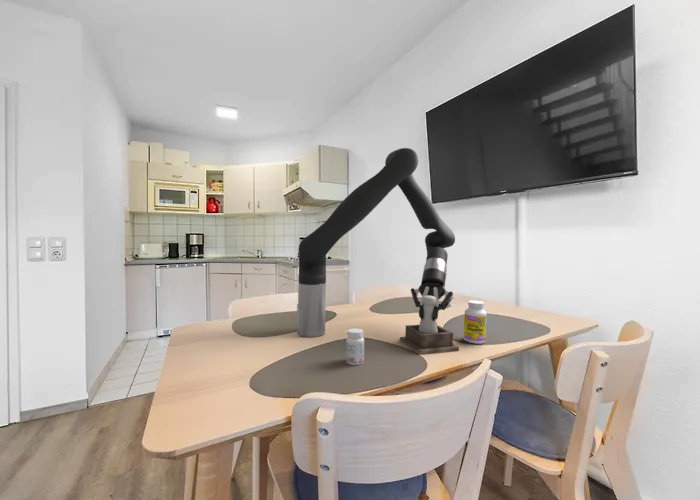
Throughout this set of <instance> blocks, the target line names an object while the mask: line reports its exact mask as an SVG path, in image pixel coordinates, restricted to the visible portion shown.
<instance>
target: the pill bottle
mask: <svg viewBox="0 0 700 500" xmlns="http://www.w3.org/2000/svg"><path fill="white" fill-rule="evenodd" d="M363 336H364V330H363V329H361V328H353V327H352V328H350V329H348V330H347V337H346V342H345V345H346V348H345V350H346V351H345V362H346V363H347V364H349V365H352V366H359V365H362V364H363V363H364V361H365V338H364V337H363Z"/></svg>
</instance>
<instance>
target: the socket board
mask: <svg viewBox="0 0 700 500" xmlns="http://www.w3.org/2000/svg"><path fill="white" fill-rule="evenodd" d="M419 325H420V324H409V325H408V324H406V325H405V330H404V331H405V334H404V336H399V341H400V342H402V343H403V344H405V346H407V347H409V348H410V349H411V350H413V351H414V352H415V353H416V354H418V355H428V354H438V353H447V352H448V353H449V352H458V351H459V350H460V347H459V346H458V345H455V344H454V343H453V340H454V332H452V331H450V330H448V329H446V328H444V327H443V326H440V325H438V324H437V329H438V333H432V334H422V333H420V332H419Z"/></svg>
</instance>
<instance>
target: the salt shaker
mask: <svg viewBox="0 0 700 500" xmlns="http://www.w3.org/2000/svg"><path fill="white" fill-rule="evenodd" d="M421 300H422V303H423V304H424V306H423V308H424V313H423V319H421V318H420V321H419V324H418V325H419V332H420V333H422V334H432V333H438V329H437V325H438V321H437V319H435V321H433V320H432V315H433V308H434V306H435V304H436V298H435V297H434V296H429V295H427V296H423V297H421Z"/></svg>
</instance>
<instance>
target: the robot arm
mask: <svg viewBox="0 0 700 500" xmlns="http://www.w3.org/2000/svg"><path fill="white" fill-rule="evenodd" d="M418 163H419V157H418V153H417V152H416V151H415V150H414V149H412V148H410V147H409V148H408V147H401V148H398V149H396V150H394V151H393V150H392V151H391V152H390V153H389V154H388V155H387V156H386V158H385V163H384V164H385V165H384V166H383V168H381V170H379V172H377V173H376V174H375V175H373V176H372V177H370V178H369V179H367V180H366V181H365V182H363V183H362V184H360V185H358V187H356V188H355V189H354V190H353V191H352V192H350V194H348V195H347V196H346V197H345V198H344V199H343V200H342V201H341V202H340V204H338V206H337V207H336V208H335V209H334V211H333V212H331V215H330V216H329V217H328V218H327V219H326V220H325V221H324V223H322V224H320V226H319V227H318V228H316V229H315V230H314V231H313V232H311V233H310V234H309V235H307V236H305V237H304V238H302V240H301V241H300V242H299V245H298V257H299V258H298V280H297V281H298V283H297V284H298V287H297V289H298V292H297V294H298V297H297V300H298V303H297V304H296V306H297V307H296V332H297V335H298V336H299V337H305V338H306V337H309V338H315V337H320V336H323V335H324V334H325V333H326V298H327V297H326V296H327V295H326V294H327V293H326V292H327V291H326V288H327V286H326V285H327V261H326V260H327V255H328V253H329V252H330V250H332V249H333V247H334V246H335V245H336V244H337V242H338V241H339V240H340V239H342V238H343V236H345V235H346V234H347V233H349V232H350V231H351V230H352V229H354V228H355V227H356V226H358V225H359V224H360V223H361V222H362V221H363V220H364V219H365V218H366V217H367V216H369V214H370V213H372V212H373V210H375V208H377V206H378V205H379V204H380V203H381V202H382V201H383V200H384V199H385V198H386V197H387V196H388V195H389V194H390V192H392V190H393V189H394V188H396V187H397V186H398V188H399V189H400V190H401V192H402V193H403V194H404V197H405V198H406V199H407V201H408V203H409V205H410V207H411V209H412V211H414V213H415V216H416V218H417V220H418V221H419V224H420V225H421V227H422V228H423V229H424V230H435V231H431V232H429V233H428V234H427V235H426V236H425V237H424V242H425V248H426V259H425V262H424V263H425V264H424V266H423V271H422V278H421V284H420V285H419V287H418V288H413V287H412V288H411V289H410V293H411V296H412V299H413V302H414V306H415V307H416V308H419V310H418V317H419V318H420V320H421V319H423V313H424V308H423V306H424V304H423V303H422V299H421V301H419V299H418V295H419V293H420V295H421V296H422V297H423V296H427V295H429V296H434V297H435V298H436V304H434V308H433V315H432V320H433V321H435V319H436V320H438V317H439V311H440V310H442V311H445V310H446V308H447V307H448V305H449V304H450V303H451V302H452V300H453V299H454V293H453V291H447V290H446V288H445V287H446V279H447V273H448V271H447V267H448V266H447V265H448V252H447V250H446V248H451V247H452V246H453V245H454V244H455V242H456V237H455V234H454V232H453V230H452V229H451V228H450V226H448V225H447V224H446V222H444V220H443V219H442V218H441V216H440V214H439V213H438V212H437V209H436V207H435V205H434V203H433V201H432V200H431V199H430V197H429V196H428V195H427V194H426V192H425V191H424V190H423V189H422V188H421V186H420V185H419V184H418V182H417V181H416V178H415V177H414V175H413V174H414V172H415V171H416V170H417V167H418V165H419V164H418ZM422 297H421V298H422ZM443 297H444V298H443ZM441 298H443V300H442V301H441V303H440V302H439V300H440V299H441Z"/></svg>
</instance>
